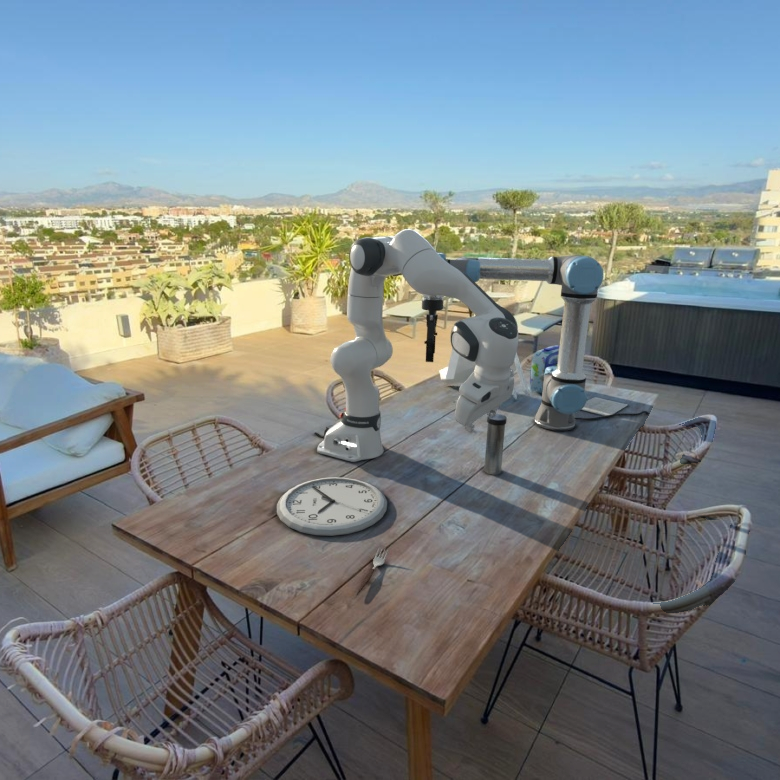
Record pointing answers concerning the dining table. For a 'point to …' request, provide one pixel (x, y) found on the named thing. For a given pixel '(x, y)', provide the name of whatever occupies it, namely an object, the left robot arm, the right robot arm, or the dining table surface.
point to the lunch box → (542, 366)
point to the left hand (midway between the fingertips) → (480, 422)
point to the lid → (497, 419)
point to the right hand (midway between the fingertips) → (430, 357)
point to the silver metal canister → (494, 449)
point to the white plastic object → (464, 368)
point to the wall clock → (331, 506)
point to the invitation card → (603, 406)
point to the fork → (376, 562)
